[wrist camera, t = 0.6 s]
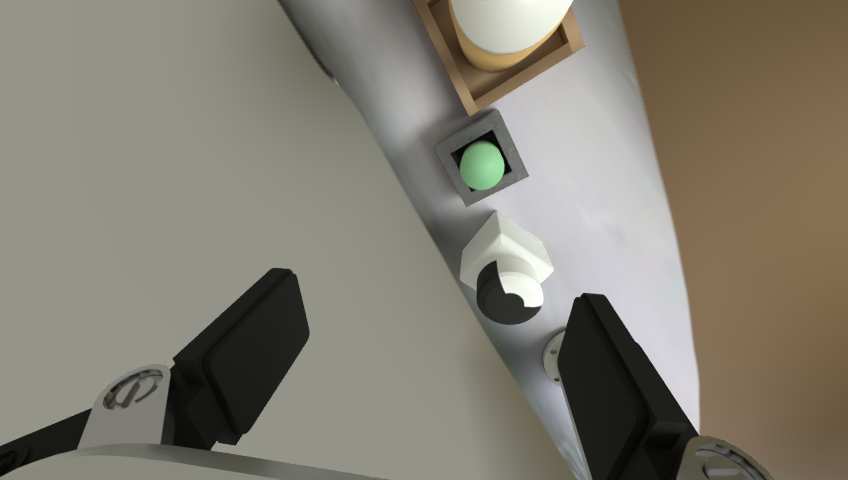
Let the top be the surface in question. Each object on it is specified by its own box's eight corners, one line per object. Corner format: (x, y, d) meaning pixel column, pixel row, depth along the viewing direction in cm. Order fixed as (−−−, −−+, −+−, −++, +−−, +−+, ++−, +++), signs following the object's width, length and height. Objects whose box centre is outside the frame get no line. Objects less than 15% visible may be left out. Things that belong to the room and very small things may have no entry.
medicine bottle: (504, 279, 40) (515, 345, 29) (461, 250, 39) (455, 308, 28) (542, 240, 37) (569, 299, 26) (495, 208, 36) (503, 256, 25)
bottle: (550, -8, 26) (616, -102, 14) (519, 81, 29) (550, 70, 17) (472, -29, 26) (468, -139, 14) (449, 62, 29) (431, 37, 17)
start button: (507, 168, 31) (511, 177, 27) (472, 186, 32) (472, 197, 29) (490, 132, 30) (492, 137, 26) (454, 153, 31) (452, 160, 27)
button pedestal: (523, 167, 33) (528, 176, 30) (467, 196, 36) (466, 207, 32) (496, 108, 31) (498, 110, 28) (438, 143, 34) (434, 148, 30)
